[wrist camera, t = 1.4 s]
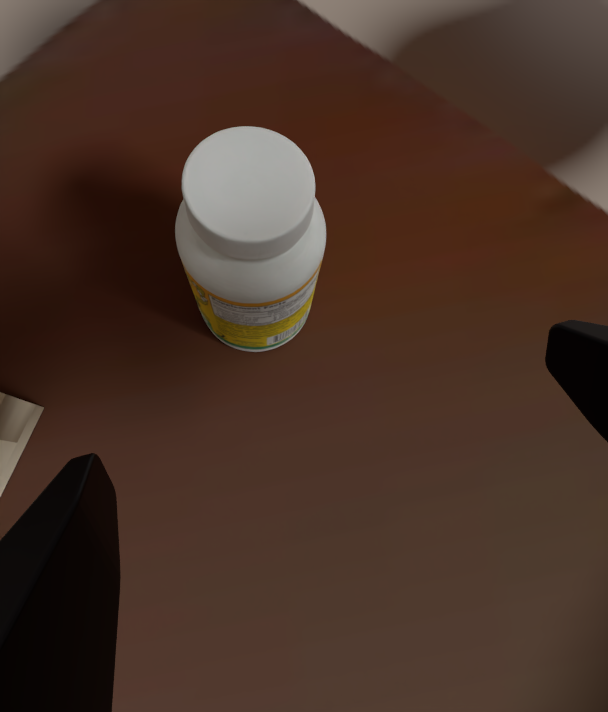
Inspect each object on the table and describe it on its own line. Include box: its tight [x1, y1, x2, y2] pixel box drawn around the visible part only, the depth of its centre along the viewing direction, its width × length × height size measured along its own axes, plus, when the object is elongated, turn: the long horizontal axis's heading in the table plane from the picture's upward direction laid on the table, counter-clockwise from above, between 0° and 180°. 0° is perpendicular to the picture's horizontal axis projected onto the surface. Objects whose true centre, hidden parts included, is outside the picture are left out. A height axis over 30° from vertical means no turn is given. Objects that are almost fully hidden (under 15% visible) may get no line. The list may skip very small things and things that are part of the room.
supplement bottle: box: [175, 126, 326, 352], centre depth 19 cm, size 5×5×10 cm
